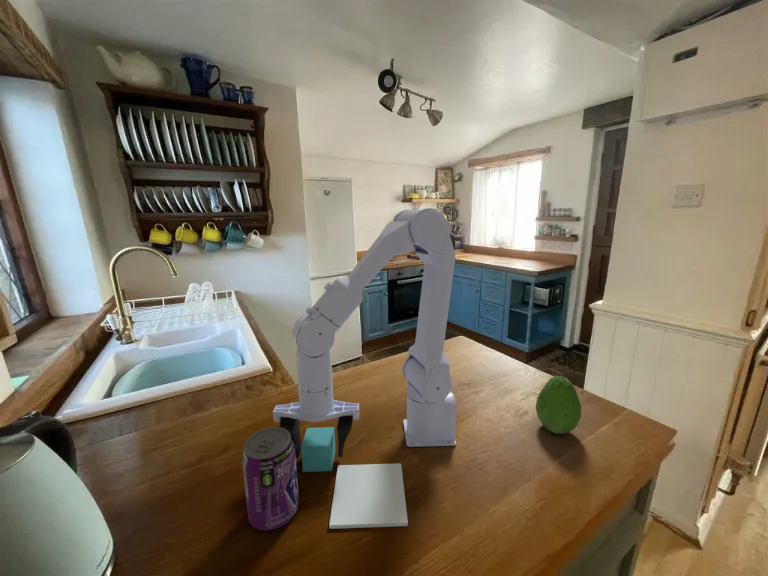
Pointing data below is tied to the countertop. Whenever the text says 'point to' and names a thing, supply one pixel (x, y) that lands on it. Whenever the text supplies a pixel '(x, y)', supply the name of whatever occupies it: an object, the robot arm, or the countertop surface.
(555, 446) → the countertop surface
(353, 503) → the plate
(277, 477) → the beverage can
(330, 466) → the cube
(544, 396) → the avocado
